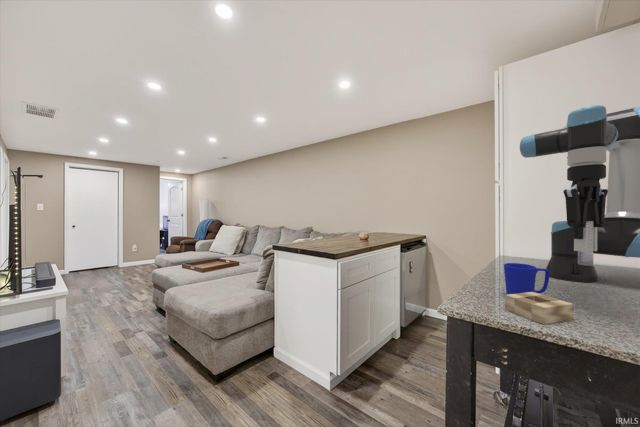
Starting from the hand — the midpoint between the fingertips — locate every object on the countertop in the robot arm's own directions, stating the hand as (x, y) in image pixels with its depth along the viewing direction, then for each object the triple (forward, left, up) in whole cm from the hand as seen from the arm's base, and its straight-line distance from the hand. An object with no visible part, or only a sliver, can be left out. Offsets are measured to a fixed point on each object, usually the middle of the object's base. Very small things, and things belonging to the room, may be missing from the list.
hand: (585, 250), depth 72 cm
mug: (+6, -12, -16) cm, 21 cm away
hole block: (+16, -1, -16) cm, 23 cm away
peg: (0, 0, -4) cm, 4 cm away
